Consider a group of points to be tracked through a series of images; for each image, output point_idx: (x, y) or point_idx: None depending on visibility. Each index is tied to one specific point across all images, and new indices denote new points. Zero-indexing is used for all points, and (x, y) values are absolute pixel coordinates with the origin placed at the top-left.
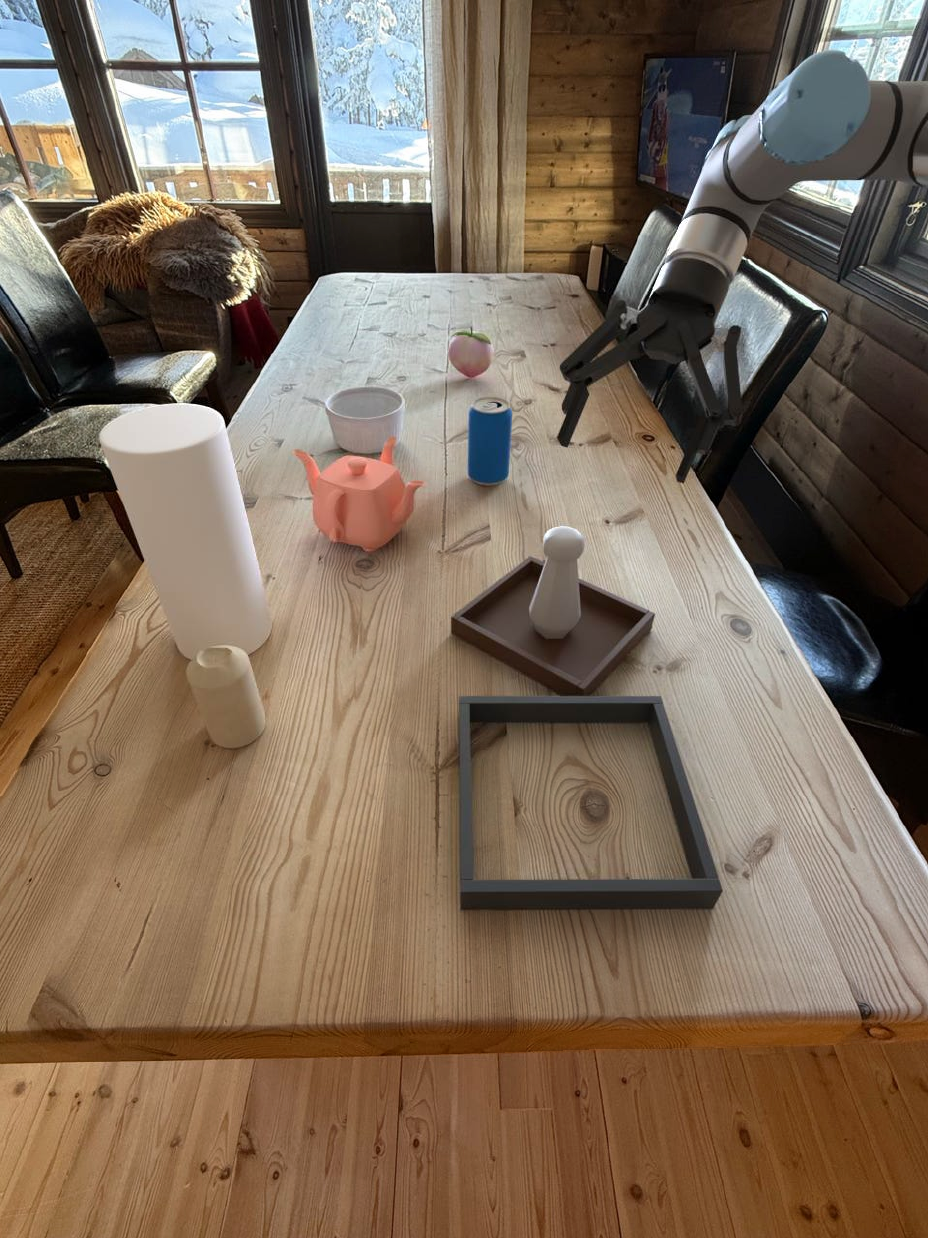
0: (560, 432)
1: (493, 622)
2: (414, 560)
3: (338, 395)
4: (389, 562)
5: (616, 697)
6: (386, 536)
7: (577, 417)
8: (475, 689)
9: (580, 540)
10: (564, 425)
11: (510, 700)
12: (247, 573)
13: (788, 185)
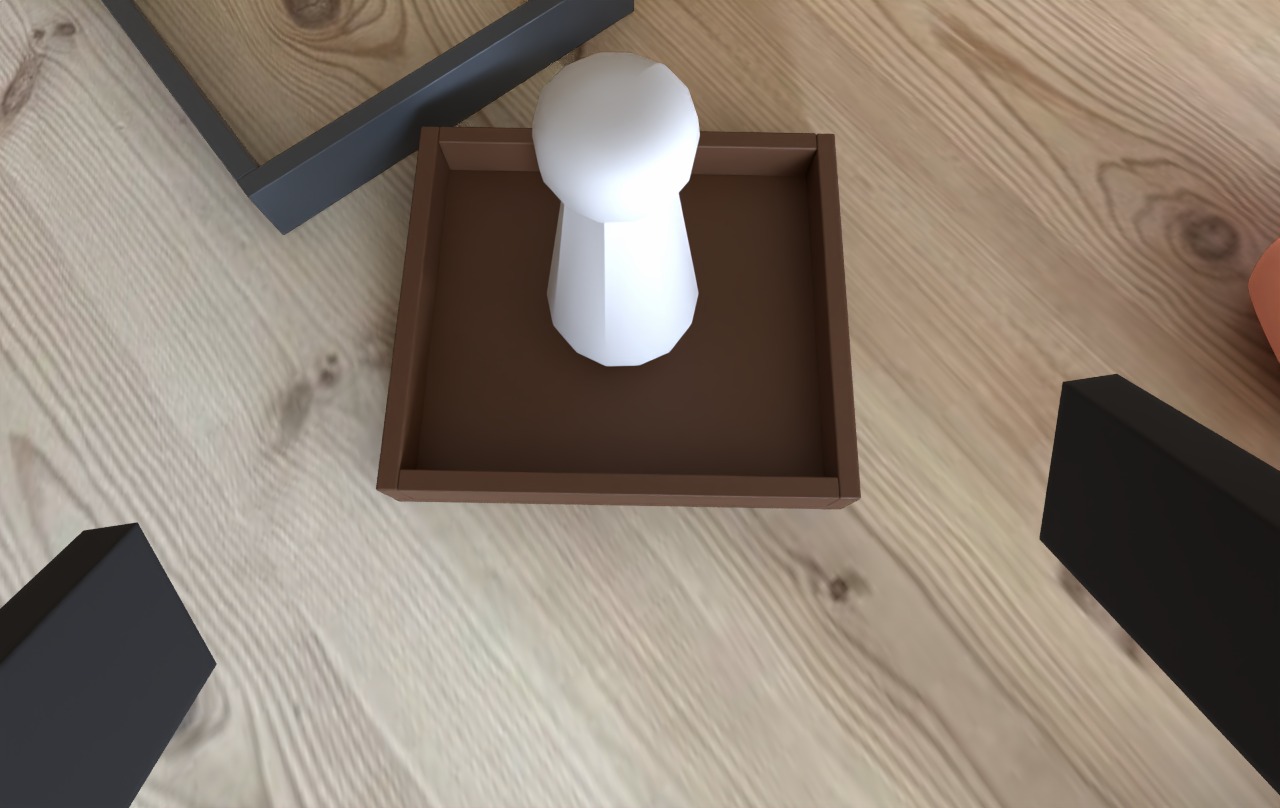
0: (1138, 398)
1: (758, 242)
2: (1133, 336)
3: None
4: (1173, 284)
5: (339, 134)
6: (1269, 280)
7: (1229, 668)
8: None
9: (544, 121)
10: (1179, 430)
11: (536, 2)
12: None
13: None
